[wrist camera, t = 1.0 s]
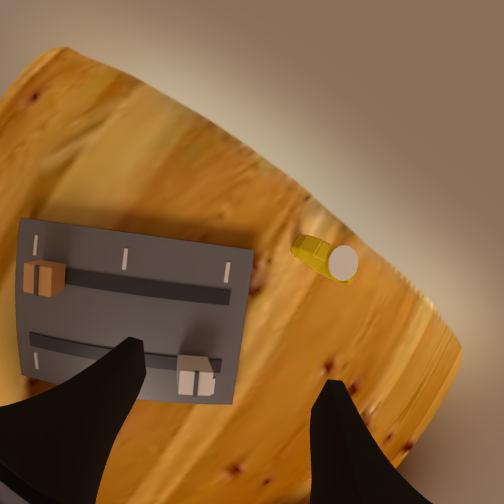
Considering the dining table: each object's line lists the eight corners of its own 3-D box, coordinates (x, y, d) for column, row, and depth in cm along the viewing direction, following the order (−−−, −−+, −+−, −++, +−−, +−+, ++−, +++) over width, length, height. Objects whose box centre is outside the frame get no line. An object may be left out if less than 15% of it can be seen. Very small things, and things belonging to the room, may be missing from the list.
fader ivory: (204, 378, 22) (211, 398, 19) (176, 376, 22) (178, 396, 18) (207, 356, 22) (214, 373, 19) (177, 354, 22) (180, 371, 18)
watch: (277, 254, 26) (303, 256, 20) (293, 228, 27) (322, 223, 21) (326, 287, 27) (360, 297, 22) (340, 263, 28) (376, 267, 22)
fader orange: (64, 290, 19) (49, 298, 16) (39, 285, 18) (21, 292, 15) (65, 263, 19) (50, 267, 16) (40, 258, 18) (22, 262, 15)
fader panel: (227, 394, 25) (232, 405, 23) (28, 367, 20) (21, 375, 18) (248, 249, 25) (255, 250, 23) (29, 218, 19) (19, 217, 17)
